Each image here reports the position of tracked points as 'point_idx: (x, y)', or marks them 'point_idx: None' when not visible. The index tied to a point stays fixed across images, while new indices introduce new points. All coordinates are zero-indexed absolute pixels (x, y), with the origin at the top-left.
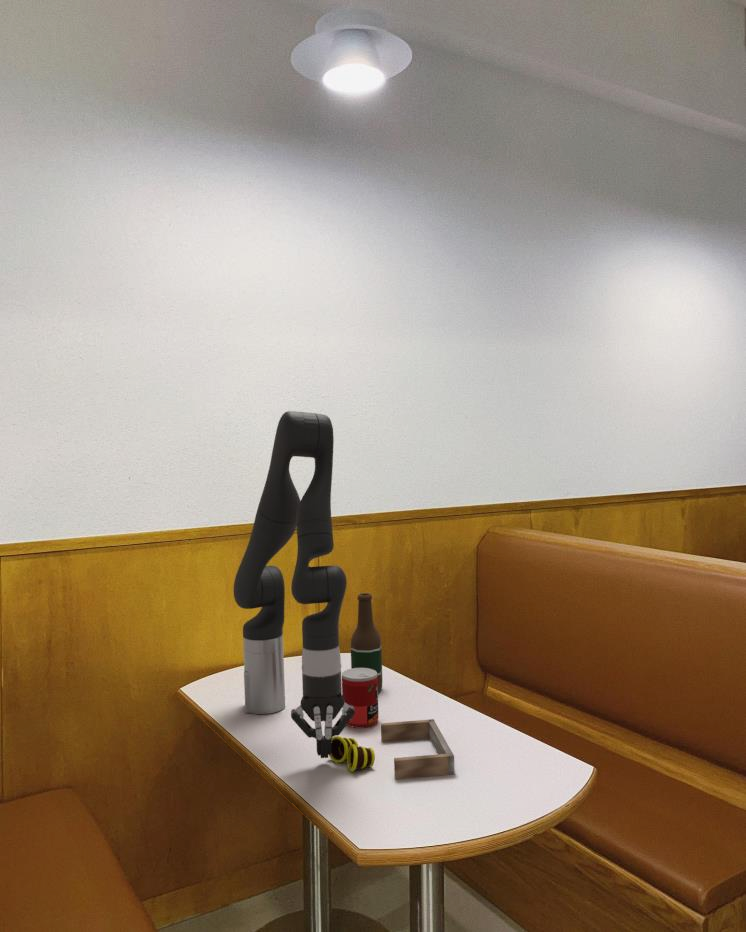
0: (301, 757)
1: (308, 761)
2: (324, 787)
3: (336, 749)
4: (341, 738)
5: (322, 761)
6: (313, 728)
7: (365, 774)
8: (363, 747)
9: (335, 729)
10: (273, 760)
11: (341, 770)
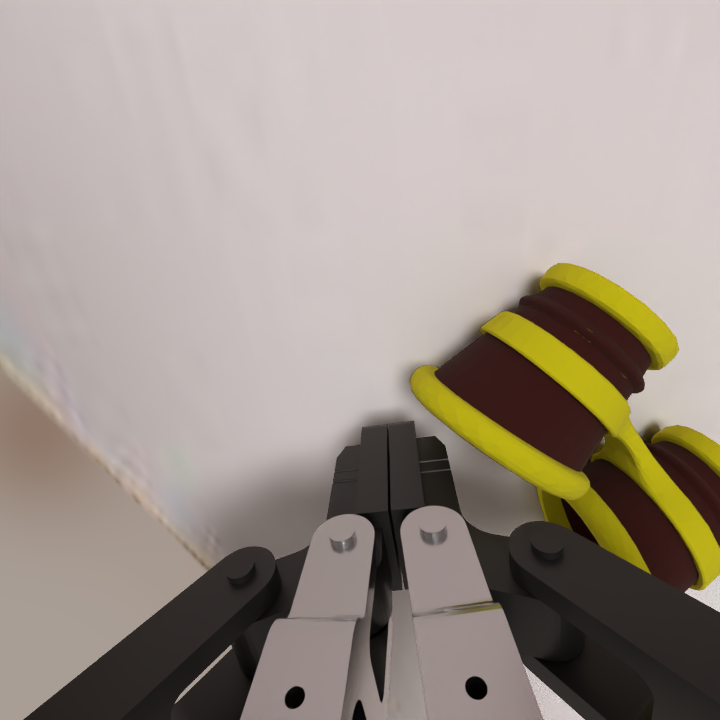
0: (228, 322)
1: (287, 380)
2: (410, 627)
3: (477, 339)
4: (558, 494)
5: (375, 383)
6: (283, 615)
7: None
8: (715, 564)
9: (538, 669)
10: (64, 358)
11: (493, 492)
